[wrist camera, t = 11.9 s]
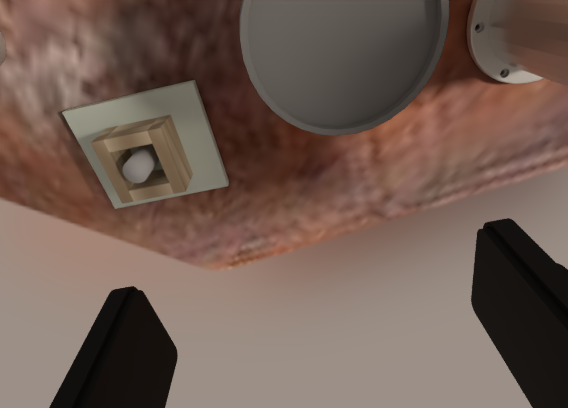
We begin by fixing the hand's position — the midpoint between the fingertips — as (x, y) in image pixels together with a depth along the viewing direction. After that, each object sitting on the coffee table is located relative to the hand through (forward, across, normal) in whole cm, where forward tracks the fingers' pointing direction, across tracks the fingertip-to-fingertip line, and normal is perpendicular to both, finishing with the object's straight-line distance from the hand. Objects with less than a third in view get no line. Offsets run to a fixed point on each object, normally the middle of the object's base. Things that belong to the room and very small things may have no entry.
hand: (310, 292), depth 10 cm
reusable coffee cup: (+31, -4, -4) cm, 31 cm away
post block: (+30, +16, +5) cm, 35 cm away
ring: (+29, +16, +5) cm, 34 cm away
